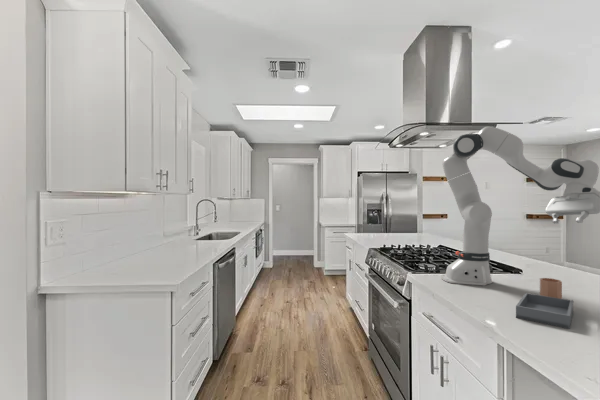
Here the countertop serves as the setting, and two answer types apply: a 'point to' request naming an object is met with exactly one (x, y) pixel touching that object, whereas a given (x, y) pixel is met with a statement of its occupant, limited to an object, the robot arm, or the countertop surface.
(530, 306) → the tray
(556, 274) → the countertop surface
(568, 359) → the countertop surface
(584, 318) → the countertop surface
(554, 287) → the cup
